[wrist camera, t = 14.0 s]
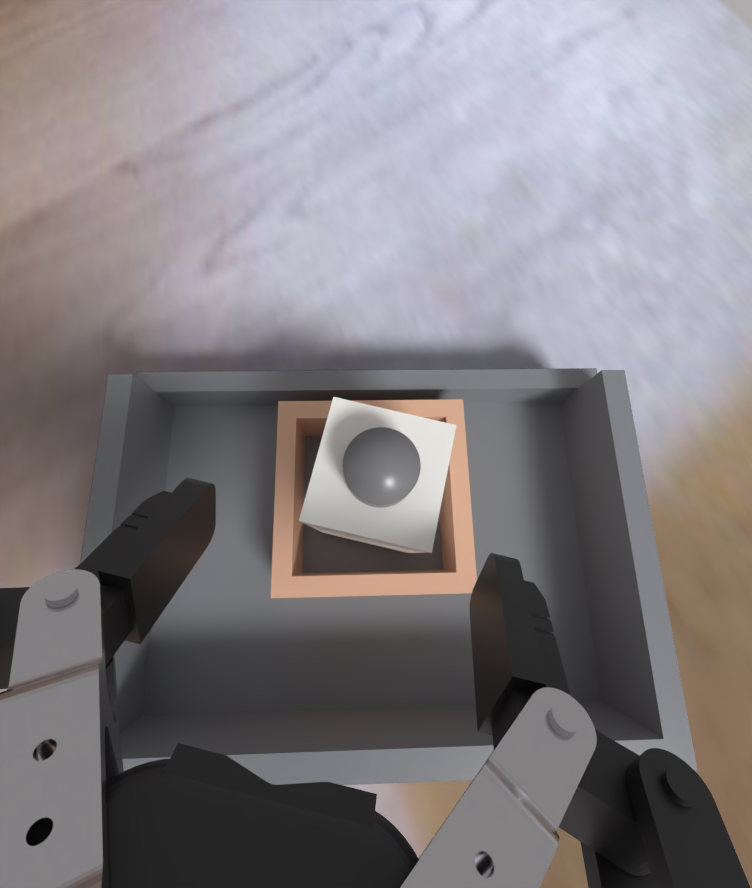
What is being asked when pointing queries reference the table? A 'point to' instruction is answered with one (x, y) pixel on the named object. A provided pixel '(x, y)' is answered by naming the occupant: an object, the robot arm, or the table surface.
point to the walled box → (383, 572)
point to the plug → (379, 477)
